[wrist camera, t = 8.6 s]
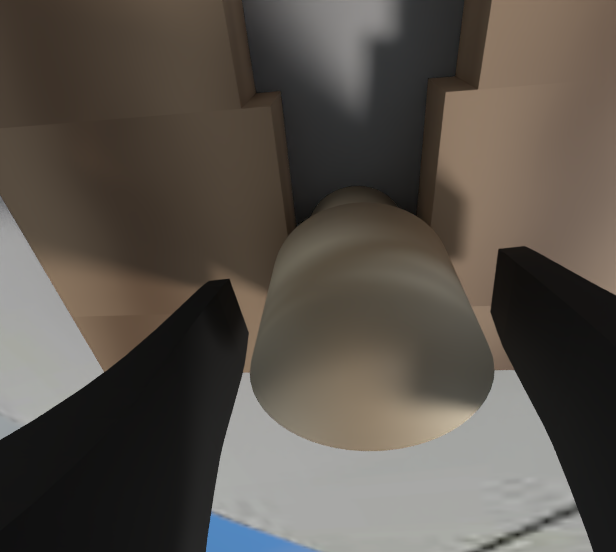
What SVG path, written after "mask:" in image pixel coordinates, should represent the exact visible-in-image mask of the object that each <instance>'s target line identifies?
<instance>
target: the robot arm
mask: <svg viewBox="0 0 616 552" xmlns="http://www.w3.org/2000/svg"><path fill="white" fill-rule="evenodd" d="M490 313H491V315H492V318H493V321H494V324H495V327H496V330H497V333H498V336H499V338H500V341H501V344H502V346H503V348H504V350H505V352H506V354H507V356H508V358H509V360H510V362H511V364H512V366H513V368H514V370H515V372H516V374H517V376H518V377H519V379H520V381H521V383H522V385H523V387H524V389H525V391H526V393H527V395H528V396H529V398H530V400H531V402H532V404H533V406H534V408H535V410H536V412H537V414H538V415H539V417H540V419H541V421H542V423H543V425H544V427H545V429H546V431H547V433H548V436H549V438H550V440H551V442H552V444H553V446H554V449H555V451H556V454H557V456H558V459H559V461H560V464H561V466H562V469H563V471H564V474H565V476H566V479H567V481H568V484H569V486H570V489H571V492H572V494H573V497H574V500H575V502H576V505H577V508H578V510H579V513H580V516H581V518H582V521H583V524H584V526H585V529H586V532H587V534H588V537H589V540H590V543H591V546H592V549H593V552H616V295H615V294H613V293H611V292H609V291H607V290H605V289H603V288H601V287H599V286H597V285H596V284H594V283H592V282H590V281H588V280H586V279H585V278H583V277H581V276H579V275H577V274H576V273H574V272H572V271H570V270H568V269H567V268H565V267H563V266H561V265H560V264H558V263H556V262H554V261H552V260H551V259H549V258H547V257H545V256H543V255H542V254H540V253H538V252H536V251H534V250H532V249H530V248H528V247H526V246H520V247H511V248H501V249H498V255H497V263H496V271H495V279H494V286H493V294H492V302H491V310H490ZM248 336H249V332H248V329H247V326H246V323H245V320H244V318H243V315H242V312H241V309H240V306H239V304H238V301H237V298H236V295H235V292H234V290H233V287H232V284H231V281H230V279H220V280H211V281H208V282H207V283H205V284H204V285H203V286H202V287H201V288H199V289H198V290H197V291H196V292H195V293H194V294H193V295H192V296H191V297H190V298H189V299H188V300H187V301H185V302H184V303H183V304H182V305H181V306H180V307H179V308H178V309H177V310H176V311H175V312H174V313H173V314H172V315H171V316H170V317H168V318H167V319H166V320H165V321H164V322H163V323H162V324H161V325H160V326H159V327H158V328H157V329H156V330H154V331H153V332H152V333H151V334H150V335H149V336H147V337H146V338H145V339H144V340H143V341H142V342H141V343H139V344H138V345H137V346H136V347H135V348H134V349H132V350H131V351H130V352H129V353H128V354H127V355H126V356H124V357H123V358H122V359H121V360H119V361H118V362H117V363H116V364H114V365H113V366H112V367H110V368H109V369H108V370H107V371H105V372H104V373H103V374H101V375H100V376H98V377H97V378H96V379H94V380H93V381H92V382H90V383H89V384H88V385H86V386H85V387H83V388H82V389H81V390H79V391H78V392H76V393H75V394H73V395H72V396H70V397H69V398H67V399H65V400H64V401H62V402H61V403H59V404H58V405H56V406H55V407H53V408H52V409H50V410H49V411H47V412H46V413H44V414H43V415H41V416H39V417H38V418H36V419H35V420H33V421H31V422H30V423H28V424H26V425H25V426H23V427H21V428H20V429H18V430H16V431H15V432H13V433H11V434H10V435H8V436H6V437H4V438H3V439H1V440H0V552H206V545H207V536H208V529H209V523H210V516H211V509H212V503H213V496H214V490H215V484H216V478H217V472H218V467H219V461H220V455H221V451H222V447H223V442H224V438H225V435H226V431H227V428H228V424H229V420H230V417H231V413H232V410H233V406H234V403H235V399H236V395H237V392H238V388H239V385H240V381H241V377H242V373H243V370H244V366H245V360H246V353H247V345H248Z"/></svg>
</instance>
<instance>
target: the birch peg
mask: <svg viewBox="0 0 616 552" xmlns="http://www.w3.org/2000/svg"><path fill="white" fill-rule="evenodd" d="M250 380H251V385H252V389H253V392H254V394H255V396H256V398H257V400H258V402H259V403H260V405H261V406H262V408H263V409H264V410H265V411H266V412H267V413H268V415H269V416H270V417H271V418H272V419H274V420H275V421H276V422H277V423H278V424H280V425H281V426H283V427H284V428H286V429H287V430H289V431H290V432H292V433H294V434H296V435H298V436H300V437H302V438H305V439H307V440H310V441H312V442H315V443H319V444H322V445H326V446H330V447H334V448H340V449H346V450H357V451H383V450H393V449H400V448H405V447H410V446H415V445H418V444H421V443H425V442H428V441H431V440H433V439H436V438H438V437H440V436H442V435H444V434H446V433H449V432H451V431H452V430H454V429H455V428H457V427H458V426H460V425H462V424H463V423H464V422H465V421H467V420H468V419H469V418H470V417H471V416H472V415H473V414H474V413H475V412H476V411H477V410H478V409H479V408H480V407H481V405H482V404H483V402H484V401H485V400H486V398H487V396H488V394H489V392H490V390H491V386H492V383H493V380H494V361H493V356H492V353H491V350H490V347H489V345H488V342H487V340H486V338H485V336H484V334H483V331H482V329H481V327H480V325H479V322H478V320H477V318H476V316H475V314H474V311H473V309H472V307H471V305H470V302H469V300H468V298H467V296H466V293H465V291H464V289H463V287H462V285H461V282H460V280H459V278H458V276H457V273H456V271H455V269H454V267H453V265H452V262H451V260H450V258H449V256H448V253H447V251H446V249H445V247H444V245H443V243H442V241H441V240H440V238H439V236H438V235H437V234H436V233H435V232H434V230H433V229H432V228H431V227H430V226H429V225H428V224H426V223H425V222H424V221H423V220H421V219H420V218H418V217H417V216H415V215H414V214H412V213H409V212H407V211H405V210H403V209H400V208H398V207H397V205H396V204H395V202H394V201H393V200H392V199H391V198H390V197H389V196H387V195H386V194H384V193H383V192H381V191H379V190H377V189H374V188H370V187H365V186H351V187H345V188H342V189H339V190H336V191H334V192H332V193H330V194H329V195H327V196H326V197H325V198H324V199H322V200H321V201H320V202H319V203H318V205H317V206H316V207H315V209H314V211H313V213H312V215H311V217H310V218H308V219H307V220H305V221H304V222H302V223H301V224H300V225H299V226H297V227H296V228H295V229H294V230H293V231H292V232H291V234H290V235H289V236H288V237H287V238H286V240H285V241H284V243H283V244H282V246H281V248H280V250H279V252H278V255H277V258H276V261H275V264H274V269H273V273H272V277H271V281H270V285H269V289H268V293H267V297H266V302H265V306H264V310H263V314H262V318H261V322H260V326H259V330H258V335H257V339H256V343H255V347H254V351H253V355H252V359H251V366H250Z"/></svg>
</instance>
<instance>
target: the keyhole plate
mask: <svg viewBox="0 0 616 552" xmlns="http://www.w3.org/2000/svg"><path fill="white" fill-rule="evenodd" d="M0 195H1V197H2V199H3V201H4V202H5V204H6V206H7V207H8V209H9V211H10V212H11V214H12V216H13V218H14V219H15V221H16V223H17V224H18V226H19V228H20V229H21V231H22V233H23V235H24V236H25V238H26V240H27V241H28V243H29V245H30V247H31V248H32V250H33V252H34V253H35V255H36V257H37V258H38V260H39V262H40V264H41V265H42V267H43V269H44V270H45V272H46V274H47V275H48V277H49V279H50V281H51V282H52V284H53V286H54V287H55V289H56V291H57V292H58V294H59V296H60V298H61V299H62V301H63V303H64V304H65V306H66V308H67V309H68V311H69V313H70V315H71V316H72V318H73V320H74V321H75V323H76V325H77V327H78V328H79V330H80V332H81V333H82V335H83V337H84V338H85V340H86V342H87V344H88V345H89V347H90V349H91V350H92V352H93V354H94V355H95V357H96V359H97V361H98V362H99V364H100V366H101V367H102V369H103V371H104V372H105V371H107V370H108V369H109V368H110V367H112V366H113V365H114V364H116V363H117V362H118V361H119V360H121V359H122V358H123V357H124V356H126V355H127V354H128V353H129V352H130V351H131V350H132V349H134V348H135V347H136V346H137V345H138V344H139V343H141V342H142V341H143V340H144V339H145V338H146V337H147V336H149V335H150V334H151V333H152V332H153V331H154V330H156V329H157V328H158V327H159V326H160V325H161V324H162V323H163V322H164V321H165V320H166V319H167V318H168V317H170V316H171V315H172V314H173V313H174V312H175V311H176V310H177V309H178V308H179V307H180V306H181V305H182V304H183V303H184V302H185V301H187V300H188V299H189V298H190V297H191V296H192V295H193V294H194V293H195V292H196V291H197V290H198V289H199V288H201V287H202V286H203V285H204V284H205V283H207V282H208V281H211V280H220V279H230V281H231V284H232V287H233V290H234V292H235V295H236V298H237V301H238V304H239V306H240V309H241V312H242V315H243V318H244V320H245V323H246V326H247V329H248V332H249V336H248V345H247V353H246V360H245V366H244V370H243V372H250V366H251V359H252V355H253V351H254V347H255V343H256V339H257V335H258V330H259V326H260V322H261V318H262V314H263V310H264V306H265V302H266V297H267V293H268V289H269V285H270V281H271V277H272V273H273V269H274V264H275V261H276V258H277V255H278V252H279V250H280V248H281V246H282V244H283V243H284V241H285V240H286V238H287V237H288V236H289V235H290V234H291V232H292V231H293V230H294V229H295V228H296V219H295V211H294V202H293V193H292V185H291V176H290V168H289V159H288V151H287V142H286V134H285V125H284V116H283V108H282V99H281V91H276V92H264V93H256V91H255V84H254V78H253V71H252V64H251V58H250V51H249V45H248V38H247V31H246V25H245V18H244V12H243V5H242V0H0ZM417 217H418V218H420V219H421V220H423V221H424V222H425V223H426V224H428V225H429V226H430V227H431V228H432V229H433V230H434V232H435V233H436V234H437V235H438V236H439V238H440V240H441V241H442V243H443V245H444V247H445V249H446V251H447V253H448V256H449V258H450V260H451V262H452V265H453V267H454V269H455V271H456V273H457V276H458V278H459V280H460V282H461V285H462V287H463V289H464V291H465V293H466V296H467V298H468V300H469V302H470V305H471V307H472V309H473V311H474V314H475V316H476V318H477V320H478V322H479V325H480V327H481V329H482V331H483V334H484V336H485V338H486V340H487V342H488V345H489V347H490V350H491V353H492V356H493V361H494V370H514V368H513V366H512V364H511V362H510V360H509V358H508V356H507V354H506V352H505V350H504V348H503V346H502V344H501V341H500V338H499V336H498V333H497V330H496V327H495V324H494V321H493V318H492V315H491V313H490V310H491V302H492V294H493V286H494V279H495V271H496V263H497V255H498V249H501V248H511V247H520V246H526V247H528V248H530V249H532V250H534V251H536V252H538V253H540V254H542V255H543V256H545V257H547V258H549V259H551V260H552V261H554V262H556V263H558V264H560V265H561V266H563V267H565V268H567V269H568V270H570V271H572V272H574V273H576V274H577V275H579V276H581V277H583V278H585V279H586V280H588V281H590V282H592V283H594V284H596V285H597V286H599V287H601V288H603V289H605V290H607V291H609V292H611V293H613V294H615V295H616V0H464V8H463V17H462V25H461V33H460V41H459V49H458V58H457V66H456V74H455V76H452V77H440V78H428V87H427V98H426V110H425V122H424V134H423V145H422V157H421V169H420V181H419V192H418V204H417Z"/></svg>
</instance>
